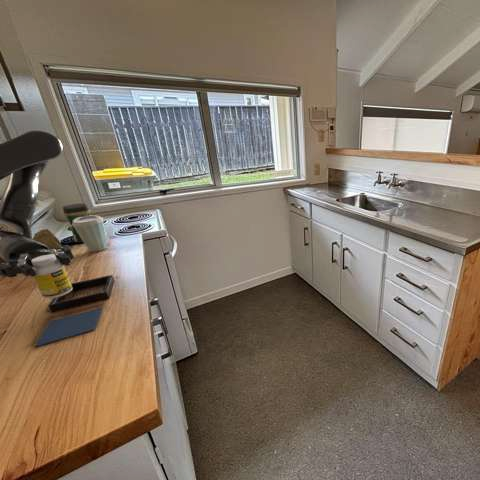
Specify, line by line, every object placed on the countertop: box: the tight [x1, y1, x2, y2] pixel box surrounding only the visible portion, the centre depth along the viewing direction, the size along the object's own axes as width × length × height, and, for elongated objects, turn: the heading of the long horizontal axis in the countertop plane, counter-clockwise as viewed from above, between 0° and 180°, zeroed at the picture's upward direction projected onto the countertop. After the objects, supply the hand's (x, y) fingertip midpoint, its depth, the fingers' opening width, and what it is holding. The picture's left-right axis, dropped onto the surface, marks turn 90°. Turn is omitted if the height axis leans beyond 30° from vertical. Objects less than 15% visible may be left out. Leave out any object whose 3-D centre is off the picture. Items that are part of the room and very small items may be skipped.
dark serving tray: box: [48, 274, 115, 314], centre depth 80 cm, size 13×13×2 cm
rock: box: [32, 228, 63, 250], centre depth 117 cm, size 11×9×10 cm
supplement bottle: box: [31, 254, 72, 300], centre depth 62 cm, size 5×5×10 cm
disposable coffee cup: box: [72, 214, 108, 253], centre depth 115 cm, size 11×11×15 cm
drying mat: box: [34, 307, 103, 348], centre depth 67 cm, size 11×11×1 cm
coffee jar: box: [62, 202, 91, 244], centre depth 126 cm, size 10×8×19 cm
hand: (50, 266), depth 60 cm, fingers closed on supplement bottle, 5 cm apart
